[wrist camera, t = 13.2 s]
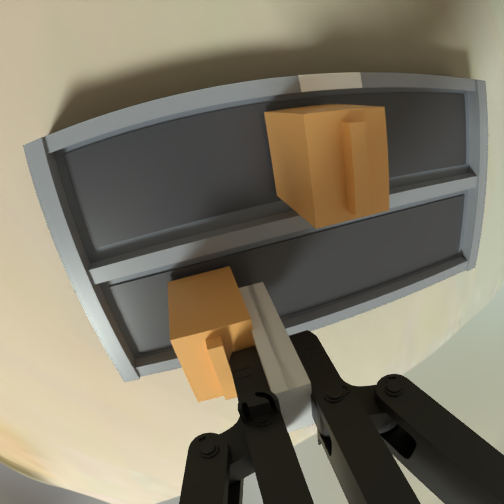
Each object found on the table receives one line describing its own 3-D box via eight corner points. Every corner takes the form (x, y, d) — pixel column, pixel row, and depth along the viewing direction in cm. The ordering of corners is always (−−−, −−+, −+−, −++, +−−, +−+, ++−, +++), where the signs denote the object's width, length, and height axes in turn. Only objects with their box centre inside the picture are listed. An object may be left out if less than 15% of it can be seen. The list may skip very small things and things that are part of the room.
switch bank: (46, 138, 13) (23, 145, 11) (454, 78, 17) (485, 80, 14) (126, 349, 20) (124, 382, 17) (451, 251, 23) (475, 267, 21)
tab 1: (167, 282, 16) (170, 350, 11) (229, 265, 16) (255, 328, 12) (188, 341, 18) (199, 411, 13) (243, 326, 18) (268, 393, 14)
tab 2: (264, 112, 13) (310, 114, 9) (328, 103, 14) (394, 107, 9) (276, 195, 15) (323, 235, 11) (336, 182, 16) (398, 215, 11)
